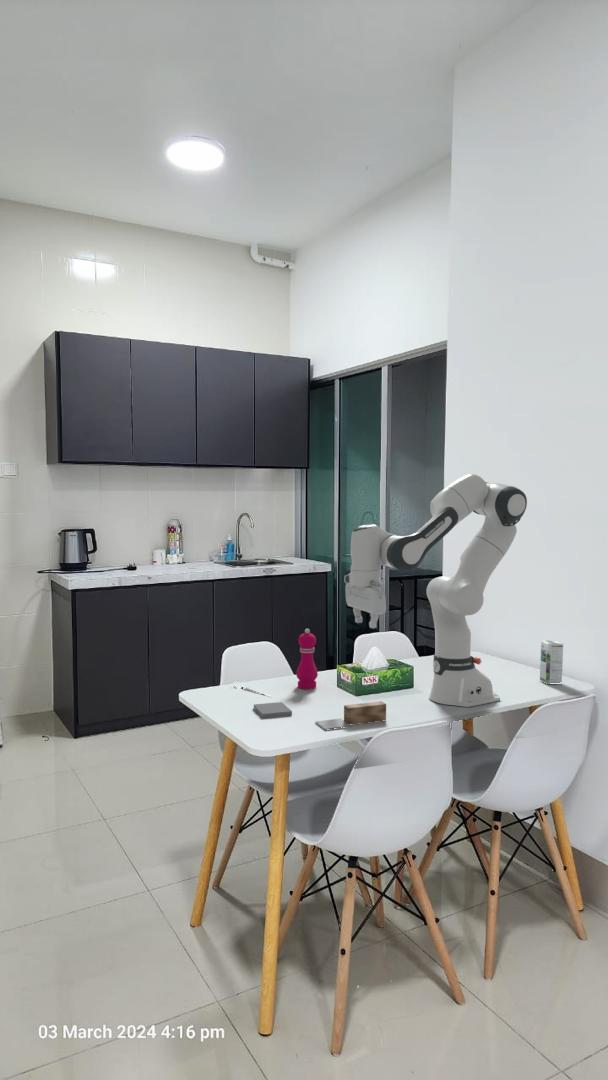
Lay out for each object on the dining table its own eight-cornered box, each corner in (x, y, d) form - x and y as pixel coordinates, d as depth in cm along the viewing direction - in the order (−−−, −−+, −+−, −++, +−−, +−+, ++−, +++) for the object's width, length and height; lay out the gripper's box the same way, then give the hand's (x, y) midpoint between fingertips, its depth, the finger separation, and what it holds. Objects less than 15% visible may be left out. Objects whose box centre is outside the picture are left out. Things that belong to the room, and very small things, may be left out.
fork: (270, 701, 234) (270, 695, 234) (230, 687, 248) (230, 682, 248) (277, 699, 236) (278, 693, 236) (238, 685, 250) (238, 680, 250)
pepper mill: (317, 689, 245) (318, 630, 244) (296, 689, 245) (296, 630, 243) (317, 684, 252) (317, 626, 251) (296, 684, 252) (296, 626, 251)
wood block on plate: (378, 716, 216) (378, 699, 216) (389, 723, 210) (389, 705, 210) (315, 723, 209) (315, 706, 209) (325, 730, 203) (325, 713, 202)
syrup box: (538, 681, 258) (540, 640, 257) (554, 680, 259) (555, 639, 258) (546, 685, 252) (547, 643, 251) (562, 684, 253) (563, 643, 252)
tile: (281, 702, 226) (253, 704, 223) (291, 711, 216) (262, 713, 213) (281, 707, 226) (253, 710, 223) (291, 717, 216) (262, 719, 214)
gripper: (391, 582, 209) (391, 630, 210) (360, 575, 228) (360, 619, 229) (371, 583, 207) (372, 632, 208) (341, 576, 226) (342, 620, 227)
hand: (365, 625), depth 219 cm, fingers open, 8 cm apart
